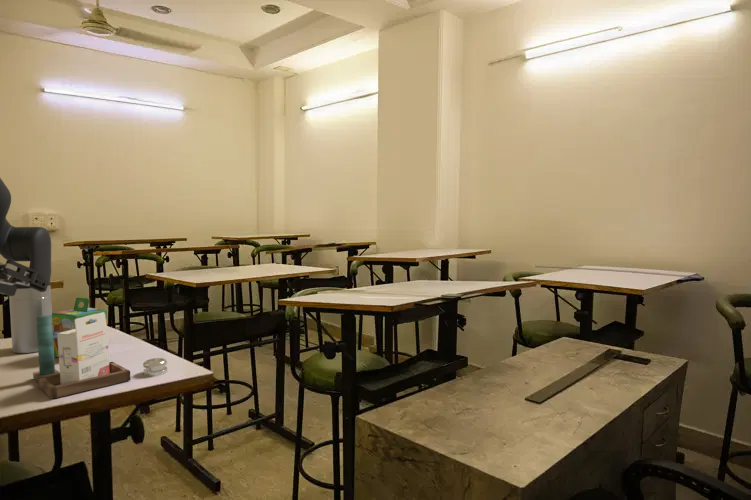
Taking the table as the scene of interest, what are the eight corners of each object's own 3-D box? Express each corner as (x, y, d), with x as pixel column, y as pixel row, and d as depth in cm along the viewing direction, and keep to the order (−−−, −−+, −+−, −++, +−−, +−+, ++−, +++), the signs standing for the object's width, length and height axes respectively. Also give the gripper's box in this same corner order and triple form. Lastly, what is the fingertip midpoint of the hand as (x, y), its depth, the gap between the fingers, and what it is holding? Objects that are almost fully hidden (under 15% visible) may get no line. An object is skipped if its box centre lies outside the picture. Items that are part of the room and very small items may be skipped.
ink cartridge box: (91, 376, 109) (88, 311, 108) (110, 377, 107) (107, 311, 107) (58, 389, 100) (55, 318, 99) (79, 390, 99) (75, 319, 98)
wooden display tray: (28, 378, 107) (25, 316, 106) (101, 363, 118) (98, 307, 117) (52, 398, 95) (48, 328, 94) (130, 380, 106) (127, 317, 105)
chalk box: (52, 357, 124) (48, 300, 123) (85, 348, 133) (82, 294, 132) (77, 361, 121) (74, 302, 120) (109, 351, 129) (107, 296, 128)
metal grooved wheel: (160, 368, 115) (139, 373, 111) (160, 356, 114) (138, 360, 111) (171, 372, 111) (149, 378, 108) (171, 359, 111) (149, 365, 107)
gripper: (-14, 232, 87) (62, 269, 101) (-71, 243, 91) (10, 277, 105) (-31, 270, 84) (50, 303, 98) (-88, 279, 88) (-3, 310, 101)
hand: (29, 289), depth 101 cm, fingers open, 8 cm apart
